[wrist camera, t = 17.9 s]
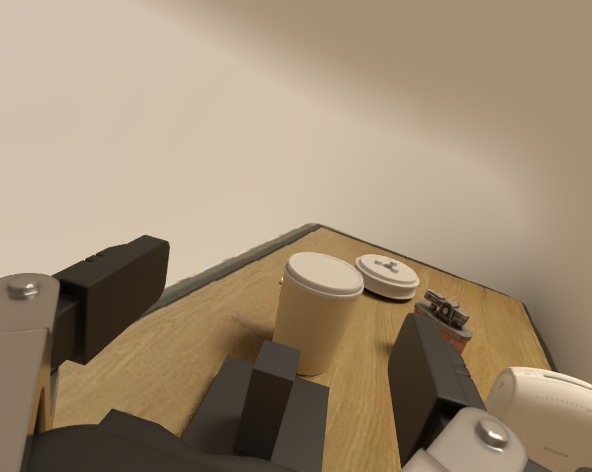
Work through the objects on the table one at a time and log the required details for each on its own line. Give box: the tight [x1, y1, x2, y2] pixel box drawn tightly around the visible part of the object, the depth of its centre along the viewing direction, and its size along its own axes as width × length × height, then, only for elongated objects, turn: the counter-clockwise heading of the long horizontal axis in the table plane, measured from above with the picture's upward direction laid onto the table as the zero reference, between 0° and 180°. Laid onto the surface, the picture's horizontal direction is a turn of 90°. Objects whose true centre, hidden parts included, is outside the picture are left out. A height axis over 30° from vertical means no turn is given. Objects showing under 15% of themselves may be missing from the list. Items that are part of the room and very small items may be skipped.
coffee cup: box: [272, 252, 364, 376], centre depth 41 cm, size 9×9×12 cm
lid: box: [355, 254, 420, 299], centre depth 67 cm, size 13×13×5 cm
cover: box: [182, 339, 329, 472], centre depth 27 cm, size 16×11×11 cm
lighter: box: [413, 289, 473, 354], centre depth 45 cm, size 8×3×10 cm, turn 33°
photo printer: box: [484, 367, 592, 472], centre depth 30 cm, size 10×4×12 cm, turn 76°
